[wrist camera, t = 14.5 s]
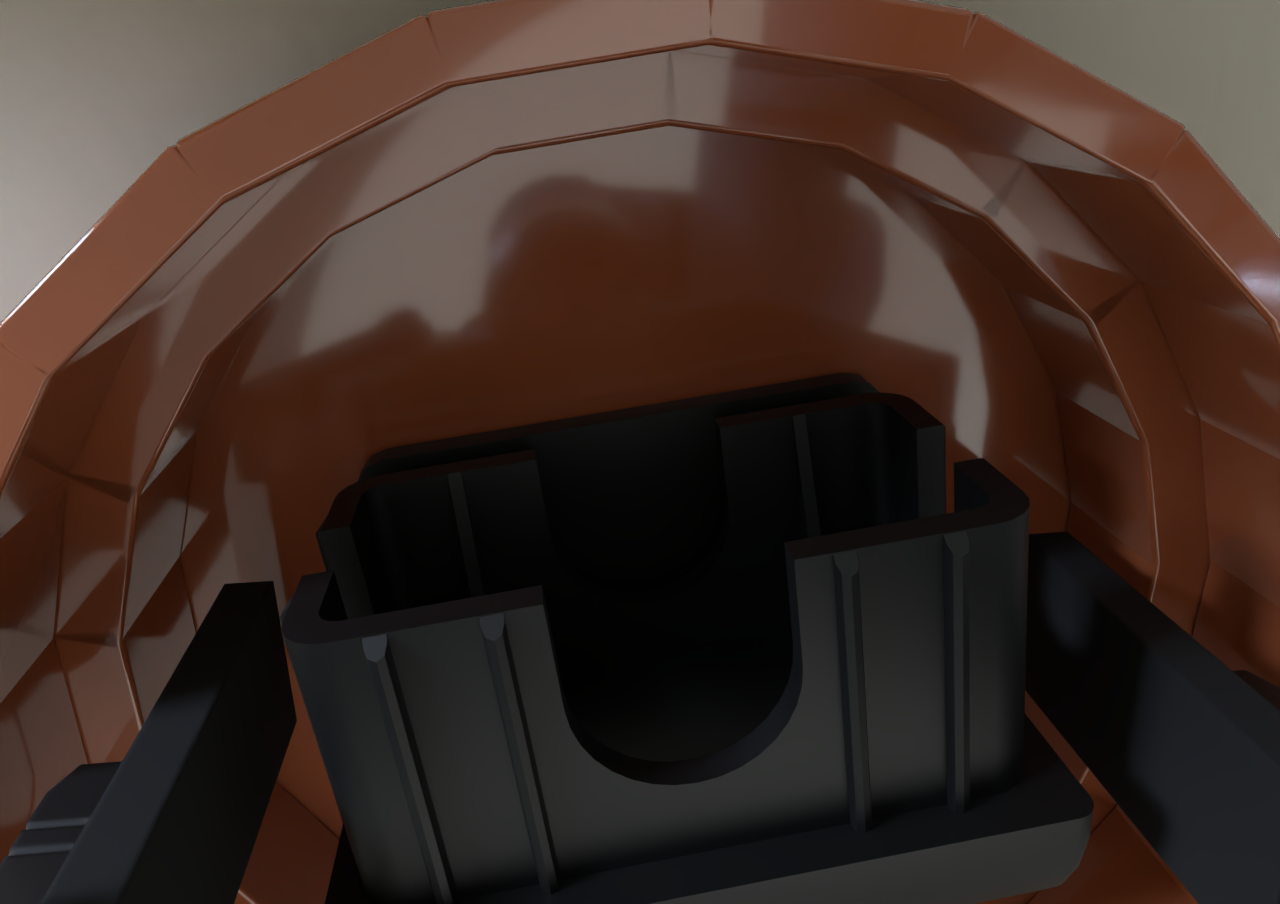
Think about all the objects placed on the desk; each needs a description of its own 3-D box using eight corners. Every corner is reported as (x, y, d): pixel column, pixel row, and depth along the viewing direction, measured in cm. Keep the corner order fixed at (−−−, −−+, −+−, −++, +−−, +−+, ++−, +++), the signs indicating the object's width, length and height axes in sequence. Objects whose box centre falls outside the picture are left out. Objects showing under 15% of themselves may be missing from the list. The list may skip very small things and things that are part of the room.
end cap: (418, 785, 19) (369, 1135, 13) (326, 455, 16) (207, 696, 10) (909, 693, 20) (1093, 984, 13) (899, 360, 17) (1122, 532, 11)
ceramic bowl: (1222, 3, 16) (1598, -32, 10) (1047, 902, 23) (1214, 1163, 18) (-33, 6, 14) (-397, -36, 8) (205, 992, 21) (95, 1320, 16)
